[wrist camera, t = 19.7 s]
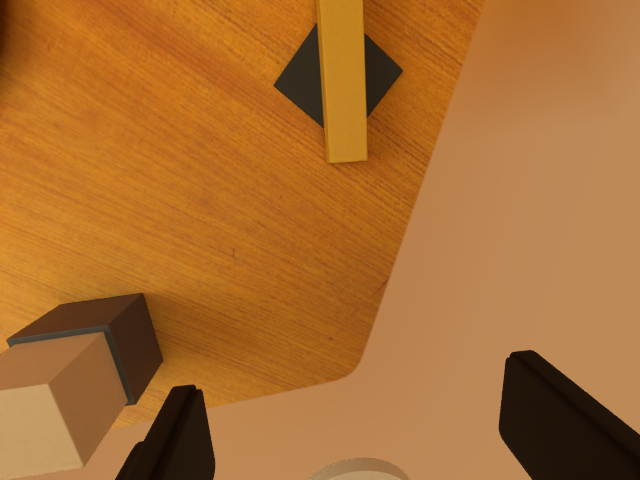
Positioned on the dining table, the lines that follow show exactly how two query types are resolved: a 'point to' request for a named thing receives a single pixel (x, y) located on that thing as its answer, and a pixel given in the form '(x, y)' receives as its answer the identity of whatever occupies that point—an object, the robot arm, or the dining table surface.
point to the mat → (305, 76)
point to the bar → (343, 79)
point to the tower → (72, 382)
